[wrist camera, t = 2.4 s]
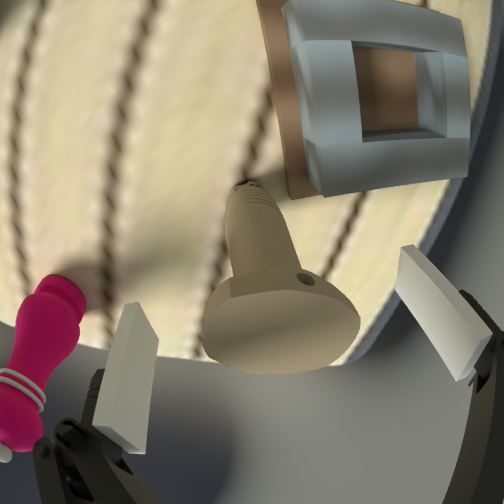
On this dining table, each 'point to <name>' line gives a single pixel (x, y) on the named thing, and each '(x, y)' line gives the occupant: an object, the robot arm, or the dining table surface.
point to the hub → (367, 93)
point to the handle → (272, 298)
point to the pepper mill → (36, 359)
